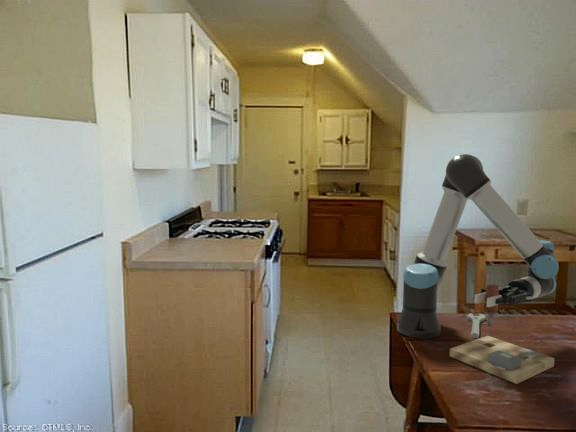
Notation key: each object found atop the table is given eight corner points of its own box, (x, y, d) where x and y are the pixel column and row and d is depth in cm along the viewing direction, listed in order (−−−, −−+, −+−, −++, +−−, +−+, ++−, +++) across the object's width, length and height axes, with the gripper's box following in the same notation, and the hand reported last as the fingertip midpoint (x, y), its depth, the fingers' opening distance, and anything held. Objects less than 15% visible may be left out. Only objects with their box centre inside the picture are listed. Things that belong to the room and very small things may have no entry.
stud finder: (488, 361, 139) (488, 353, 139) (497, 357, 142) (498, 349, 142) (510, 370, 134) (511, 362, 133) (520, 366, 136) (521, 358, 136)
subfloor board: (449, 356, 149) (449, 348, 149) (487, 342, 160) (487, 335, 160) (516, 383, 131) (517, 374, 131) (553, 366, 142) (554, 358, 142)
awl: (481, 325, 152) (484, 285, 150) (488, 322, 154) (490, 283, 152) (492, 328, 149) (494, 288, 147) (498, 326, 151) (501, 286, 149)
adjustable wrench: (479, 340, 164) (479, 335, 163) (459, 337, 167) (459, 332, 166) (485, 318, 186) (486, 314, 186) (468, 315, 189) (468, 311, 188)
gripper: (547, 306, 154) (506, 320, 141) (499, 294, 168) (458, 305, 154) (549, 284, 153) (507, 295, 140) (501, 273, 167) (459, 283, 153)
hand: (481, 300), depth 147 cm, fingers closed on awl, 3 cm apart
